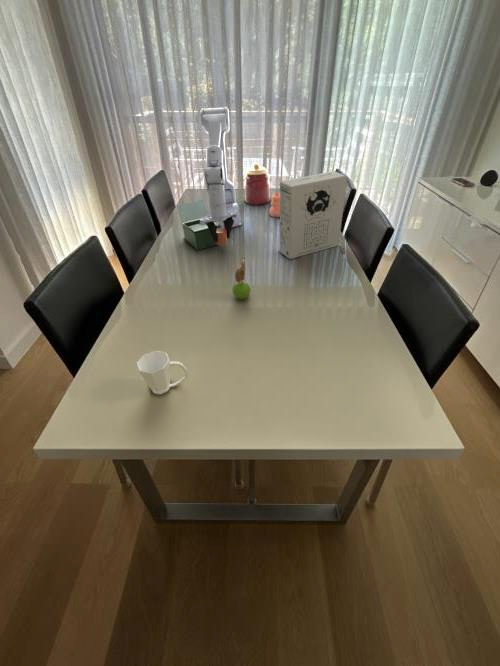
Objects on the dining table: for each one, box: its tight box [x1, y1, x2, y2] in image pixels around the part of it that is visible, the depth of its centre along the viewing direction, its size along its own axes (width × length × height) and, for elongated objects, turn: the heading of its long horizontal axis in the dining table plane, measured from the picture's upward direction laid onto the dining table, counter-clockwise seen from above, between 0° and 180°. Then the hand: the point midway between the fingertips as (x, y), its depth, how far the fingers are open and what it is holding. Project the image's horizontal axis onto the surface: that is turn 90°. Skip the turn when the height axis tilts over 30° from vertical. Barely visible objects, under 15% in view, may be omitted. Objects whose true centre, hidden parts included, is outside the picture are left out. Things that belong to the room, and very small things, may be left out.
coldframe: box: [181, 218, 221, 251], centre depth 136 cm, size 13×11×7 cm
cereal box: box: [279, 170, 348, 260], centre depth 120 cm, size 22×8×25 cm, turn 115°
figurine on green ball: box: [231, 256, 251, 300], centre depth 100 cm, size 5×6×12 cm
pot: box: [216, 228, 229, 246], centre depth 128 cm, size 5×5×5 cm
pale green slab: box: [176, 199, 208, 222], centre depth 137 cm, size 6×11×1 cm
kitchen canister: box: [243, 162, 271, 206], centre depth 168 cm, size 13×13×18 cm
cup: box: [135, 350, 188, 395], centre depth 74 cm, size 7×10×8 cm
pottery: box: [269, 191, 280, 218], centre depth 154 cm, size 18×10×10 cm, turn 94°
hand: (221, 239), depth 129 cm, fingers closed on pot, 4 cm apart
